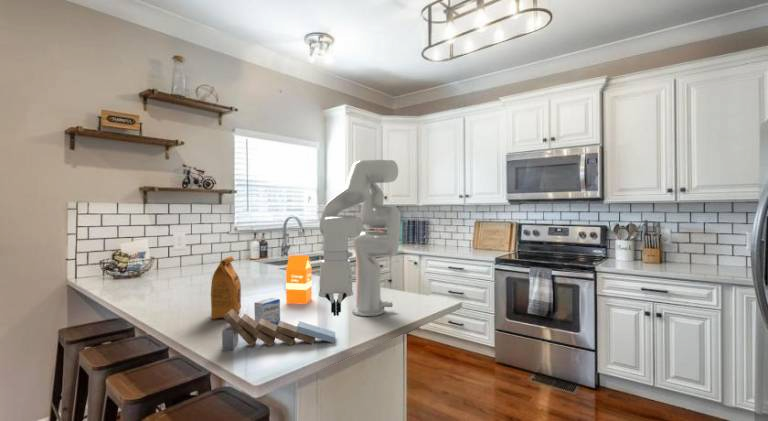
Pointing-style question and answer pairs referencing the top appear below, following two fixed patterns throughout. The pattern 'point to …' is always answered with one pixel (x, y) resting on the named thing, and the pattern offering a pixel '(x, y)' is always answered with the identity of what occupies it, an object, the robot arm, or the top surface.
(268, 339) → the domino
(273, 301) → the medicine box
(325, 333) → the domino
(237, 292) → the coffee package
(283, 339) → the domino
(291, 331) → the domino
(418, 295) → the top surface
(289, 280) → the orange juice
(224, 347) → the block
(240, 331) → the domino
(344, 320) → the top surface
